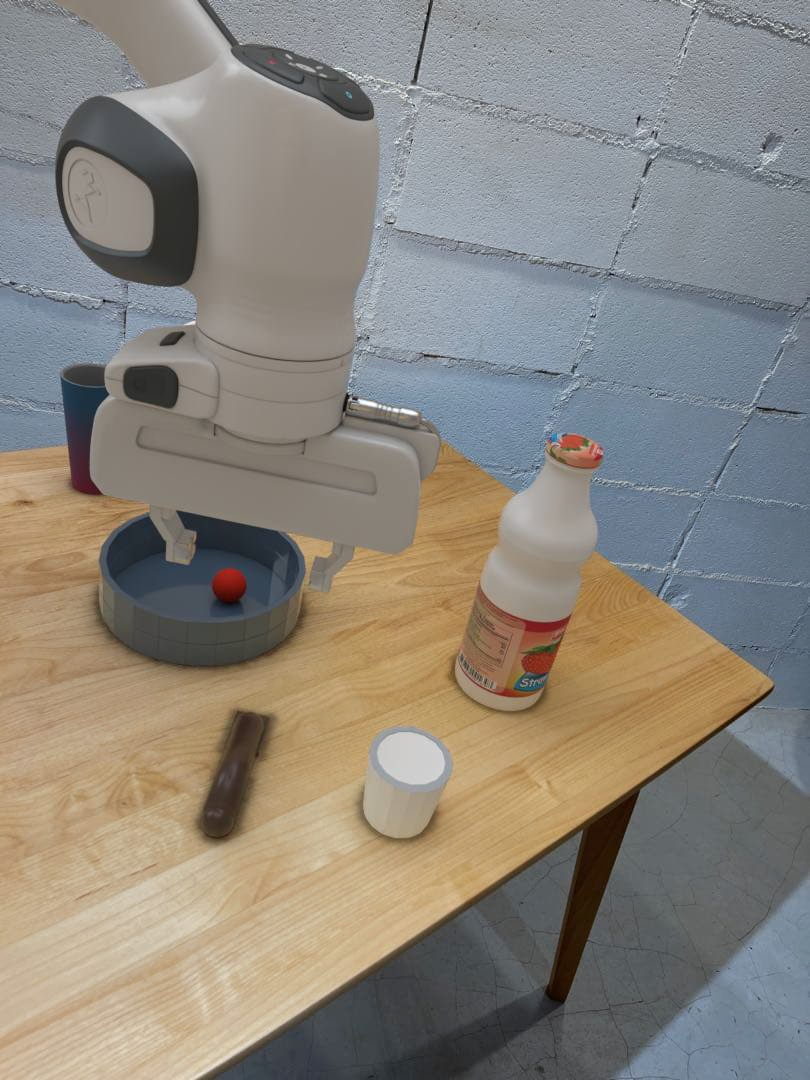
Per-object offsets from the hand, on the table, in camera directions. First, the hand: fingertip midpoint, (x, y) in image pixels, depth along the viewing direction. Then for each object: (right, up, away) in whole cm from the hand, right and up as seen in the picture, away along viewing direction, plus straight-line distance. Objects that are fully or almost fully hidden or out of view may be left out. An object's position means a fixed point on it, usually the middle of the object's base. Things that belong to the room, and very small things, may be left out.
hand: (250, 572), depth 54 cm
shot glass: (+9, -21, +15) cm, 27 cm away
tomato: (-8, -3, +32) cm, 33 cm away
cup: (-28, +9, +47) cm, 56 cm away
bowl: (-11, -5, +32) cm, 35 cm away
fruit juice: (+20, -13, +31) cm, 39 cm away
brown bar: (-4, -18, +14) cm, 23 cm away
